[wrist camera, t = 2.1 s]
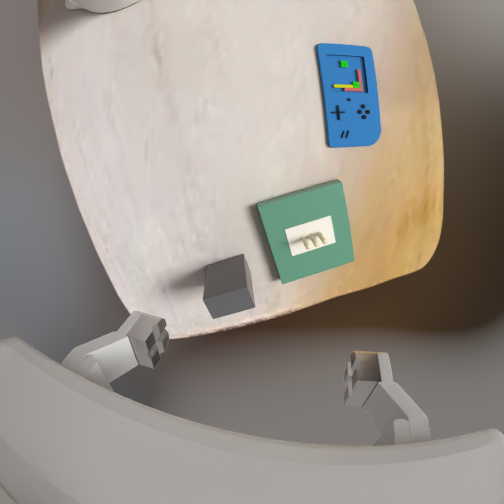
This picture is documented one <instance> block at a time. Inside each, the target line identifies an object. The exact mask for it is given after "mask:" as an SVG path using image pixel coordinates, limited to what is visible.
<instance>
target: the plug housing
mask: <svg viewBox="0 0 504 504" xmlns="http://www.w3.org/2000/svg"><path fill="white" fill-rule="evenodd" d="M203 301H204V303H205V305H206V307H207V308H208V310H209V312H210V314H211V316H212V318H213V319H215V318H219V317H222V316H226V315H230V314H233V313H237V312H240V311H244V310H248V309H251V308H254V307H255V302H254V294H253V287H252V280H251V273H250V270H249V267H248V265H247V262H246V259H245V257H244V254H242V255H239V256H235V257H232V258H229V259H226V260H223V261H219V262H216V263H213V264H210V265H207V269H206V278H205V286H204V295H203Z"/></svg>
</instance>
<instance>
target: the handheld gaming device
mask: <svg viewBox="0 0 504 504" xmlns="http://www.w3.org/2000/svg"><path fill="white" fill-rule="evenodd" d="M316 50H317V56H318V62H319V69H320V75H321V82H322V90H323V98H324V107H325V116H326V126H327V137H328V145H329V146H330V147H333V148H334V147H353V146H370V145H372V144H374V143H375V142H376V141H377V140H378V139H379V137H380V133H381V125H380V111H379V100H378V91H377V83H376V75H375V68H374V61H373V55H372V51H371V49H370V48H368V47H363V46H354V45H342V44H324V43H322V44H319V45H318V46H317V47H316Z"/></svg>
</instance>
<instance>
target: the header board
mask: <svg viewBox="0 0 504 504" xmlns="http://www.w3.org/2000/svg"><path fill="white" fill-rule="evenodd" d="M257 206H258V209H259V212H260V216H261V219H262V222H263V225H264V228H265V231H266V234H267V237H268V241H269V244H270V247H271V250H272V253H273V256H274V260H275V263H276V266H277V269H278V272H279V276H280V279H281V282H282V284H285V283H288V282H291V281H294V280H297V279H300V278H304V277H307V276H310V275H313V274H316V273H319V272H322V271H325V270H328V269H331V268H334V267H337V266H340V265H343V264H346V263H349V262H352V261H354V254H353V246H352V239H351V232H350V225H349V219H348V213H347V207H346V201H345V196H344V191H343V185H342V182H341V181H340V180H338V179H337V180H334V181H330V182H327V183H323V184H320V185H316V186H313V187H309V188H306V189H302V190H299V191H296V192H292V193H289V194H286V195H282V196H279V197H276V198H273V199H269V200H266V201H263V202H260V203H257Z"/></svg>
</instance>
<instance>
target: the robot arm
mask: <svg viewBox="0 0 504 504" xmlns="http://www.w3.org/2000/svg"><path fill="white" fill-rule="evenodd" d="M137 1H139V0H65V6H66V7H67V8H68V9H70V10H73V9H80V8H83V9H86V10H89V11H91V12H96V13H105V12H112V11H116V10H119V9H122V8H125V7H127V6H129V5H131V4H133V3H135V2H137ZM165 327H166V321H165V319H163V318H160V317H156V316H153V315H149V314H146V313H142V312H139V311H134V312H133V313H132V314H131V315H130V316H129V317H128V319H127V320H126V321H125V322H124V323H123V325H122V326H121V327H120V328H119V330H118V331H117V332H111V333H109V334H107V335H104V336H102V337H100V338H97V339H95V340H92V341H90V342H88V343H85V344H83V345H80V346H78V347H75V348H74V349H73V350H72V351H71V352H70V354H69V355H68V356H67V357H66V359H65V360H64V361H63V362H62V363H61V364H58V363H56V362H55V361H53V360H52V359H50V358H48V357H47V356H45V355H44V354H42V353H40V352H39V351H37V350H36V349H34V348H33V347H31V346H30V345H28V344H27V343H25V342H24V341H23V340H21V339H20V338H18V337H10V338H6V339H3V340H0V504H504V435H503V434H502V433H501V432H499V431H498V430H497V429H488V430H484V431H480V432H476V433H472V434H467V435H463V436H458V437H453V438H447V439H441V440H435V441H431V437H430V430H429V424H428V418H427V416H426V415H425V414H424V413H423V411H422V410H421V409H420V408H419V407H418V406H417V405H416V404H415V402H414V401H413V400H412V399H411V398H410V397H409V396H408V395H407V394H406V393H405V391H404V390H403V389H402V388H401V387H400V386H399V385H398V384H397V383H394V382H393V377H392V371H391V366H390V361H389V356H388V354H387V353H381V352H365V351H364V352H363V351H353V352H352V354H351V362H349V363H348V364H347V366H346V369H345V373H344V385H345V386H346V389H345V391H344V405H349V406H363V409H364V411H365V412H366V414H367V416H368V417H369V419H370V421H371V422H372V424H373V425H374V427H375V429H376V430H377V432H378V433H379V435H380V437H379V438H378V439H377V440H376V441H375V442H374V443H373V444H372V445H371V446H339V445H338V446H337V445H320V444H308V443H298V442H289V441H282V440H275V439H268V438H262V437H256V436H251V435H246V434H241V433H236V432H232V431H227V430H223V429H219V428H215V427H211V426H207V425H203V424H199V423H196V422H193V421H189V420H186V419H183V418H179V417H176V416H173V415H170V414H168V413H164V412H162V411H159V410H156V409H153V408H150V407H148V406H145V405H143V404H140V403H138V402H135V401H133V400H130V399H128V398H126V397H123V396H121V395H119V394H116V393H114V392H113V389H112V388H111V386H110V384H109V382H111V381H113V380H114V379H116V378H117V377H119V376H121V375H122V374H124V373H126V372H127V371H129V370H131V369H132V368H134V367H135V366H137V365H138V364H141V365H144V366H147V367H151V368H155V366H156V364H157V363H158V361H159V360H160V353H162V352H164V351H165V350H166V348H167V346H168V342H169V334H168V332H167V330H166V329H165Z"/></svg>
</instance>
